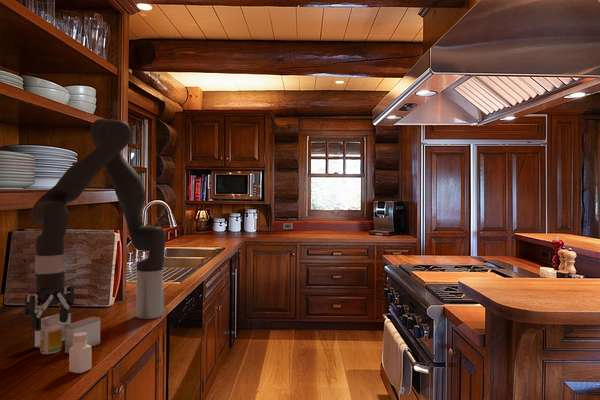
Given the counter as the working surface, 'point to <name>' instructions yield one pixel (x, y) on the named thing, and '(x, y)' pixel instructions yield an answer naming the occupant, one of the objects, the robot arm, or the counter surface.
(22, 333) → the counter surface
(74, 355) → the pepper shaker
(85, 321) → the housing
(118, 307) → the counter surface
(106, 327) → the counter surface
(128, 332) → the counter surface
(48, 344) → the supplement bottle
